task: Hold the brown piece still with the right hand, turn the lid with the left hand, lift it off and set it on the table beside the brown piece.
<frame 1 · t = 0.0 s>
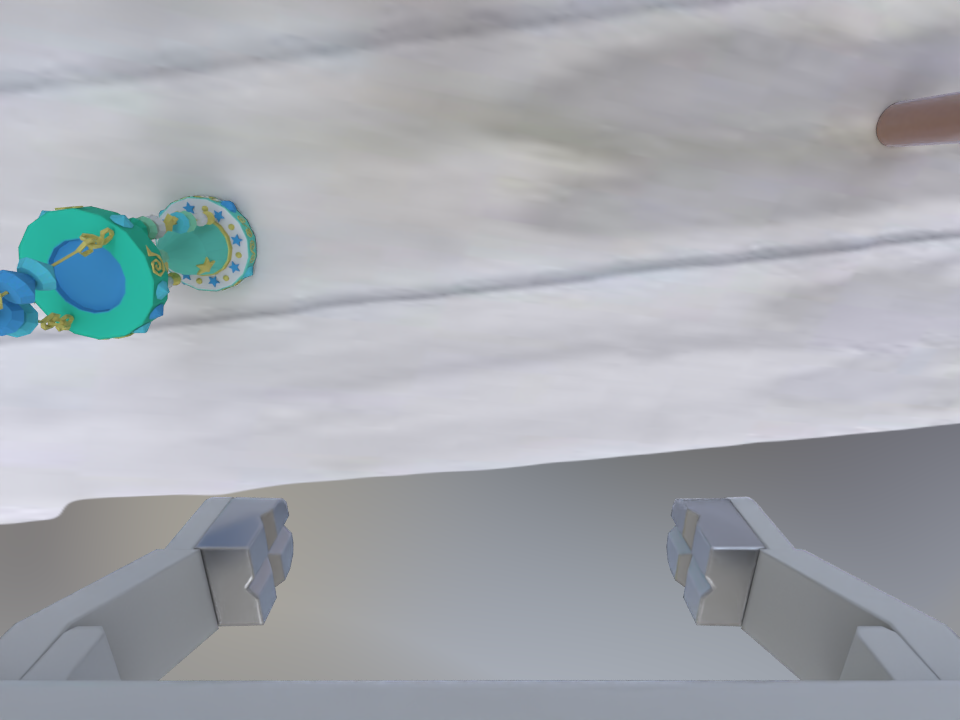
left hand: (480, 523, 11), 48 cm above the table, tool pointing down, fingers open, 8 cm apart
decorative hourglass: (212, 242, 56), on the table
brown piece: (897, 124, 52), on the table
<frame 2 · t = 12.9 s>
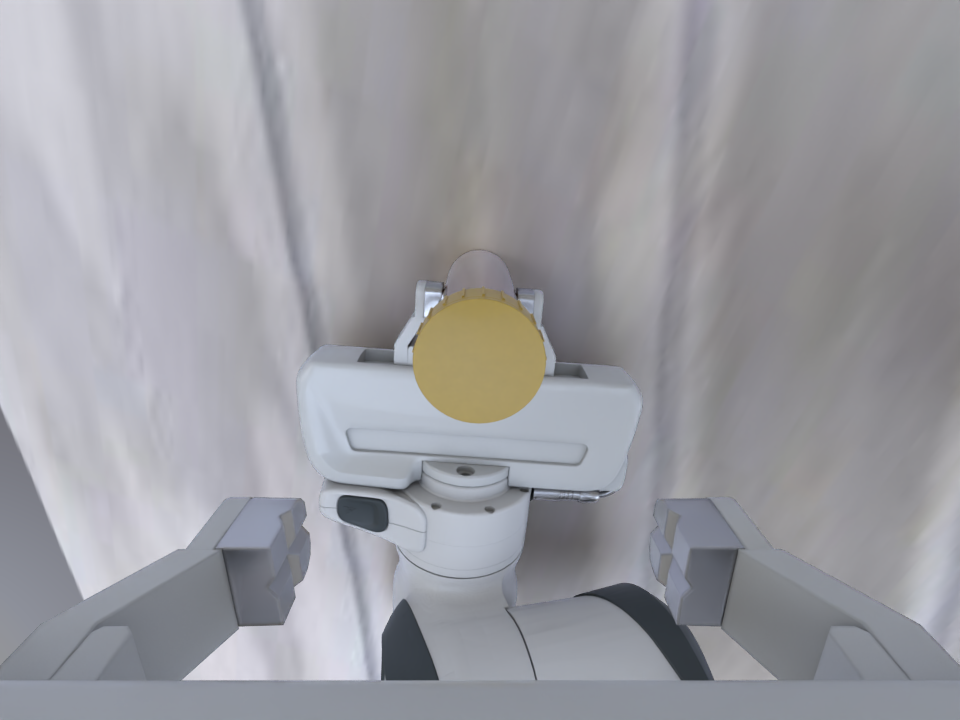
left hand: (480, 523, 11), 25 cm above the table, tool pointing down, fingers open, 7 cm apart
right hand: (479, 286, 29), fingers closed on brown piece, 4 cm apart
brown piece: (479, 281, 34), on the table, touching right hand
lid: (479, 361, 20), point 15 cm above the table, screwed on, not yet turned
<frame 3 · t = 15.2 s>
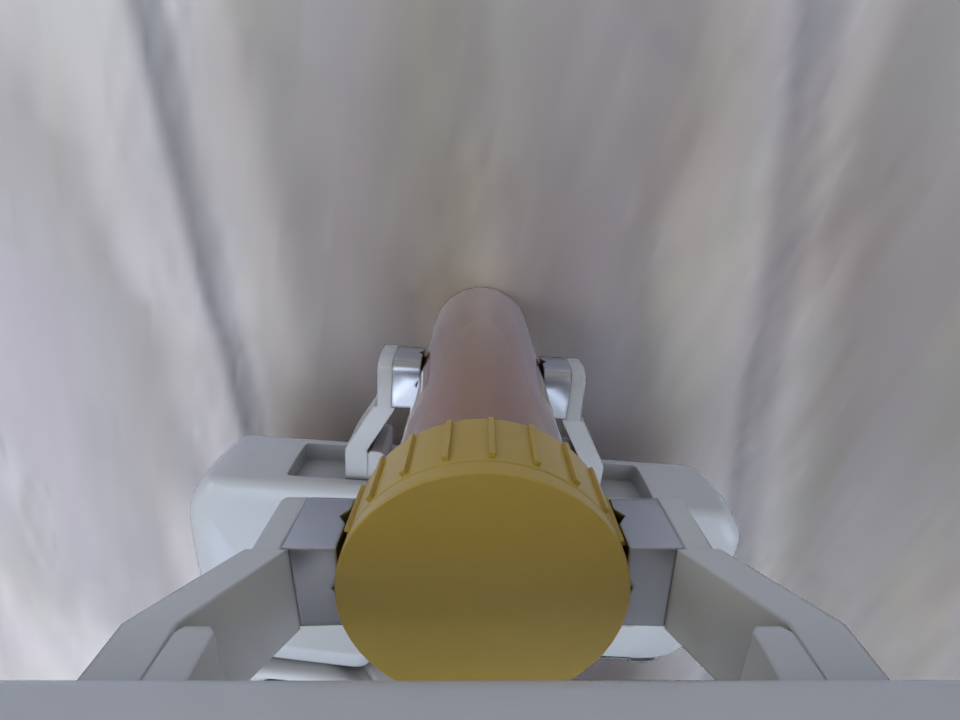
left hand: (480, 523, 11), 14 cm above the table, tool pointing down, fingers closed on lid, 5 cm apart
brown piece: (480, 332, 24), on the table, touching right hand
lid: (482, 584, 9), point 15 cm above the table, screwed on, not yet turned, touching left hand
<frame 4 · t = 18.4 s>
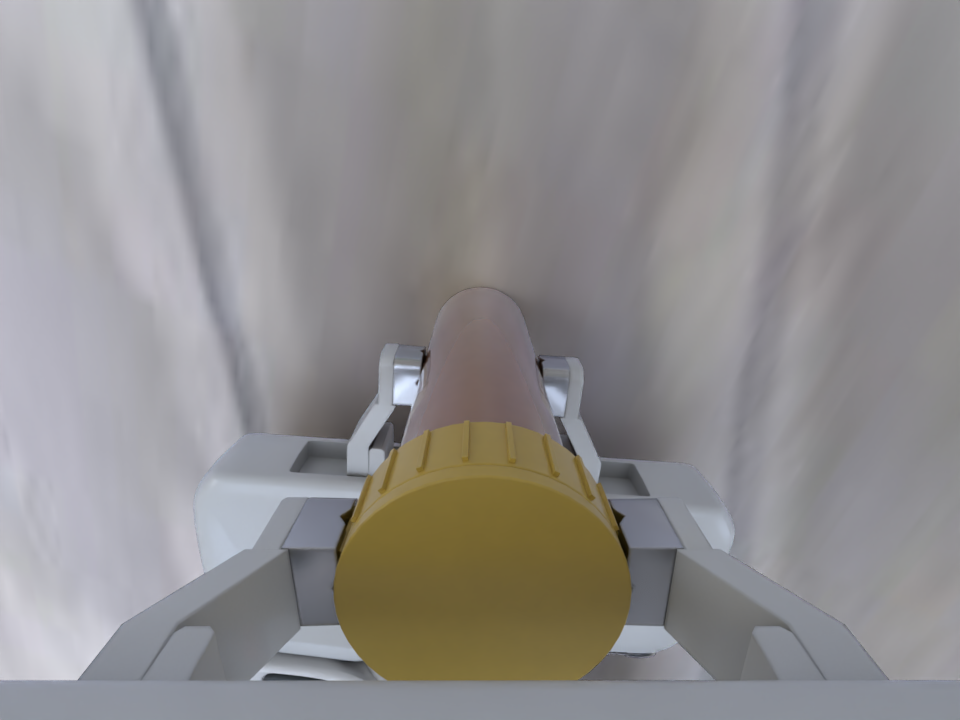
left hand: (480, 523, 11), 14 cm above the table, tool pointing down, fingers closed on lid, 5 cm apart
brown piece: (480, 331, 24), on the table, touching right hand
lid: (482, 588, 9), point 16 cm above the table, turned 96° so far, risen 0.3 cm, still on its thread, touching left hand
when the left hand's fingers open (2 cm above the table, at t = 25.6 s): lid drops 2 cm, point 2 cm above the table.
when the right hand's fingers open (6 cm above the table, at t = 26.6 s): brown piece stays where it is, on the table.
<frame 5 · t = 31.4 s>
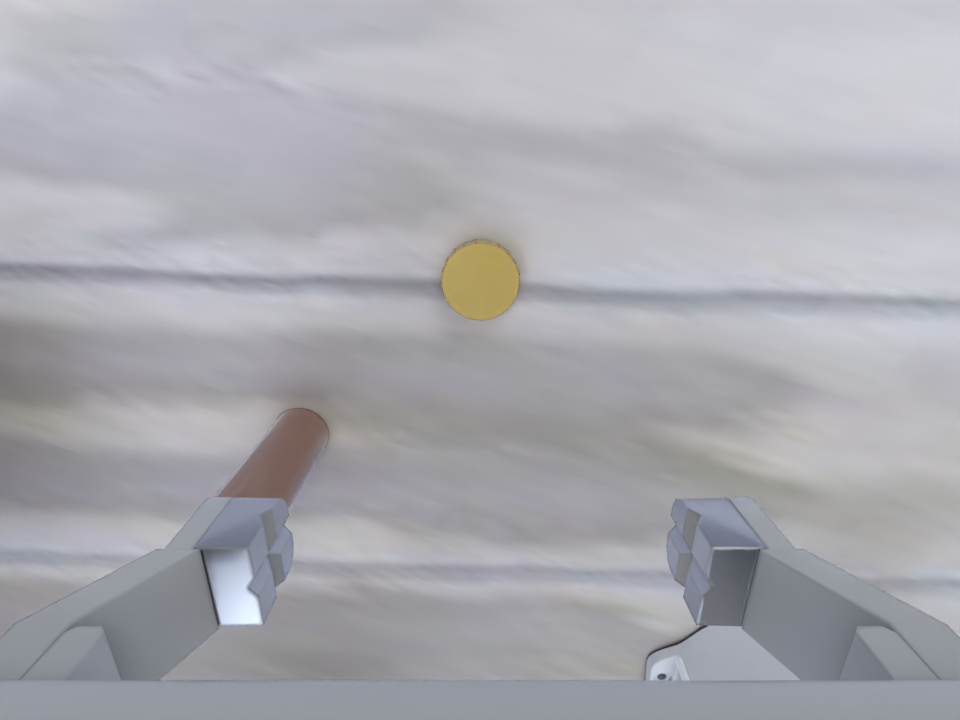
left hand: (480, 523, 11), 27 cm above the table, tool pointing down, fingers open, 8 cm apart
brown piece: (301, 432, 40), on the table
lid: (480, 282, 34), point 2 cm above the table, off its thread
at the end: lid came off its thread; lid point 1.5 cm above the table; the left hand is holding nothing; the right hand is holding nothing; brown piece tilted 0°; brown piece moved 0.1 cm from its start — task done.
